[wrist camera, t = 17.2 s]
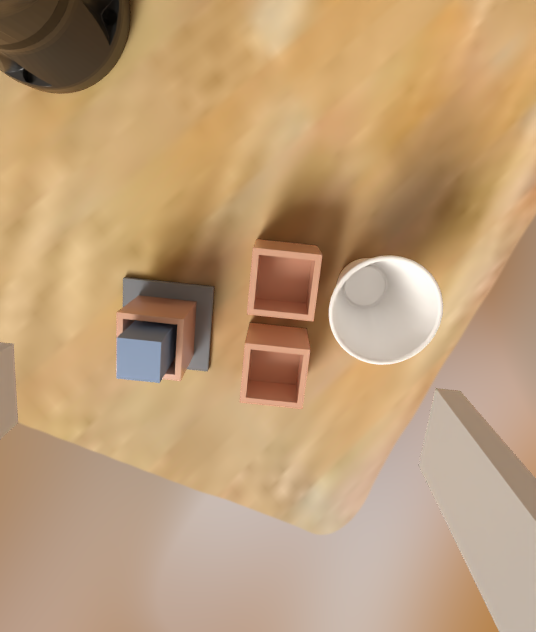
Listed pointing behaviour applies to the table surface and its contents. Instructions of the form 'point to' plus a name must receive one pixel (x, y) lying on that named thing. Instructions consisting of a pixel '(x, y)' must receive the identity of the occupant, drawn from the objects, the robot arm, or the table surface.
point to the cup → (385, 309)
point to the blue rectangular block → (146, 351)
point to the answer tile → (180, 292)
